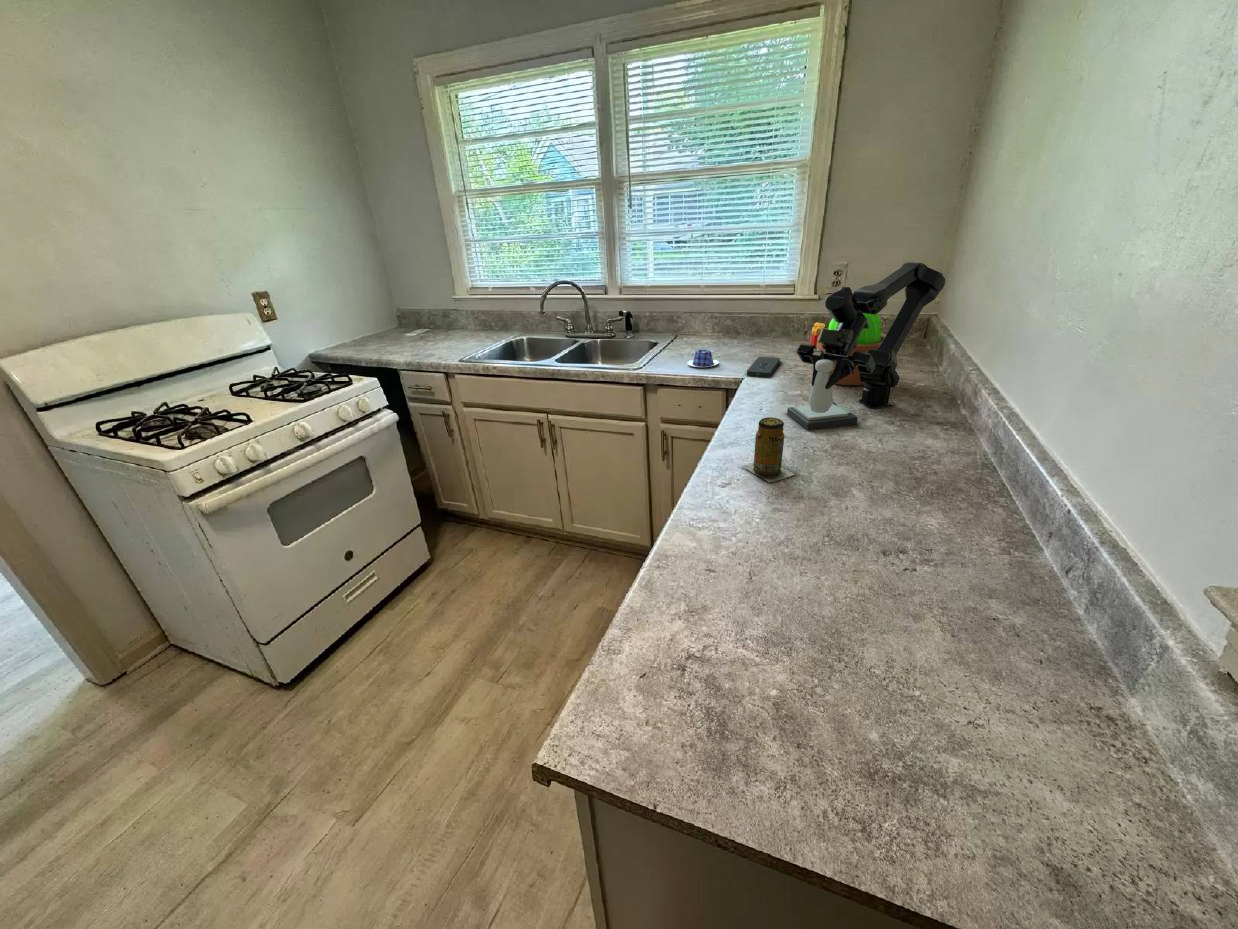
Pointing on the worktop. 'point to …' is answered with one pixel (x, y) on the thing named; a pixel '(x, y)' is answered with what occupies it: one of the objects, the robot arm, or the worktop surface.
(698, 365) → the pudding
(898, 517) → the worktop surface
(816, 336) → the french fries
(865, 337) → the potted cactus
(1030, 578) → the worktop surface
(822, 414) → the kitchen scale
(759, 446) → the condiment
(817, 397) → the salt shaker
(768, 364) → the smart home device
